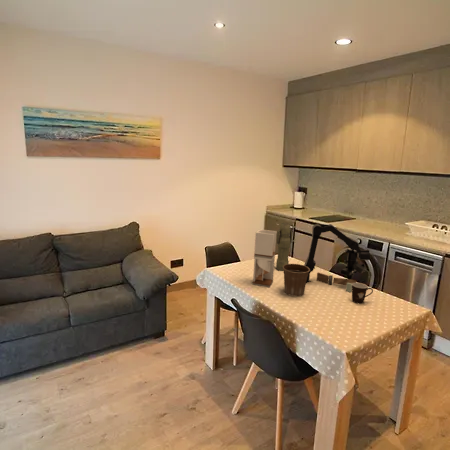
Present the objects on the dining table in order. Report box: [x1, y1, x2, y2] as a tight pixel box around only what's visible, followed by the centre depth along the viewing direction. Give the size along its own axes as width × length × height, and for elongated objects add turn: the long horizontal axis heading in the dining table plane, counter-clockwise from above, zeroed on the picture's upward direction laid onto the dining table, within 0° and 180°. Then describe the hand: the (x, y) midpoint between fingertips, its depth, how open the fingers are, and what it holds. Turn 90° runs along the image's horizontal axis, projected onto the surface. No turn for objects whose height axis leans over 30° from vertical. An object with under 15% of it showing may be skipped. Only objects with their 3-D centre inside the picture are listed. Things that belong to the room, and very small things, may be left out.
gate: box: [332, 277, 357, 286], centre depth 219 cm, size 14×2×4 cm, turn 77°
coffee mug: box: [351, 282, 374, 305], centre depth 195 cm, size 12×9×10 cm
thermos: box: [275, 222, 293, 272], centre depth 245 cm, size 9×12×35 cm
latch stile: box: [345, 283, 352, 293], centre depth 210 cm, size 2×3×6 cm, turn 43°
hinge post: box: [316, 272, 334, 286], centre depth 224 cm, size 2×11×6 cm, turn 43°
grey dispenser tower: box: [252, 229, 278, 288], centre depth 215 cm, size 11×11×35 cm
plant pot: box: [283, 263, 310, 297], centre depth 204 cm, size 16×16×16 cm
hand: (350, 281), depth 220 cm, fingers closed
